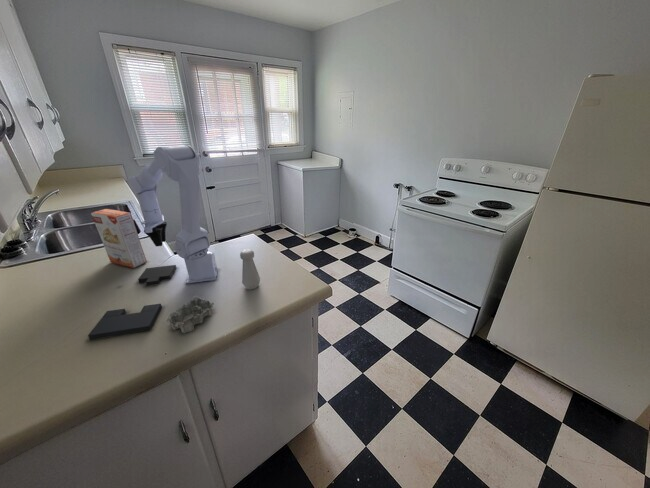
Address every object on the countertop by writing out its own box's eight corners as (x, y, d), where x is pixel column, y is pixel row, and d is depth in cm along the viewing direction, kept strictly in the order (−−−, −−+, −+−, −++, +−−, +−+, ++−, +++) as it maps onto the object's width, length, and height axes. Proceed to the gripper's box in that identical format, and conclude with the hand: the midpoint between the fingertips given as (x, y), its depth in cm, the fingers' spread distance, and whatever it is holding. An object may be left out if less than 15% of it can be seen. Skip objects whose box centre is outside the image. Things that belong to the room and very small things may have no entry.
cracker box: (109, 263, 107) (89, 212, 98) (124, 256, 112) (107, 207, 103) (132, 269, 102) (114, 216, 93) (147, 262, 107) (131, 211, 98)
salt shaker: (264, 283, 91) (260, 249, 86) (253, 292, 86) (248, 256, 81) (250, 280, 93) (245, 246, 88) (239, 288, 89) (233, 253, 83)
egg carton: (186, 336, 69) (182, 323, 68) (166, 327, 72) (162, 315, 70) (217, 311, 78) (214, 299, 76) (198, 304, 81) (195, 293, 79)
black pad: (176, 268, 102) (175, 264, 101) (168, 283, 92) (167, 279, 92) (147, 271, 100) (146, 268, 99) (136, 287, 90) (134, 283, 90)
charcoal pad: (162, 307, 80) (160, 303, 80) (150, 330, 71) (149, 325, 71) (108, 315, 77) (107, 310, 77) (89, 339, 68) (87, 335, 68)
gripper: (145, 204, 102) (155, 237, 108) (129, 216, 90) (141, 253, 95) (165, 203, 104) (174, 235, 109) (153, 214, 91) (163, 250, 97)
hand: (160, 243), depth 102 cm, fingers open, 3 cm apart
